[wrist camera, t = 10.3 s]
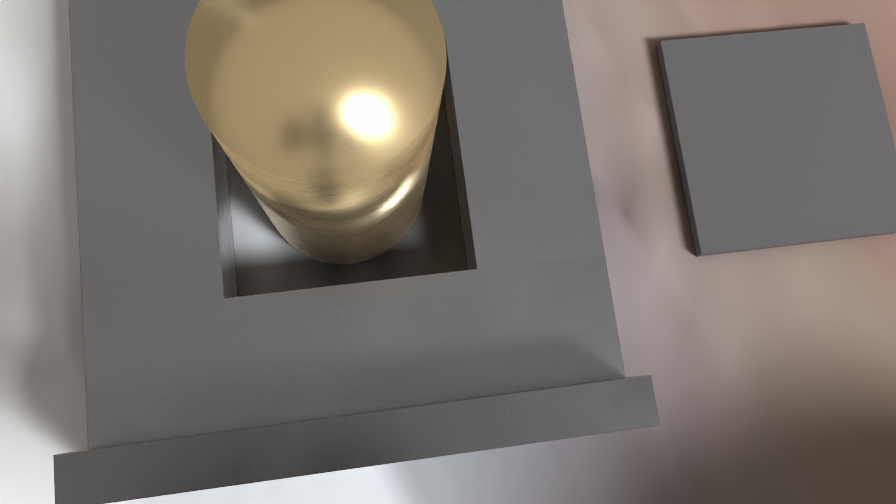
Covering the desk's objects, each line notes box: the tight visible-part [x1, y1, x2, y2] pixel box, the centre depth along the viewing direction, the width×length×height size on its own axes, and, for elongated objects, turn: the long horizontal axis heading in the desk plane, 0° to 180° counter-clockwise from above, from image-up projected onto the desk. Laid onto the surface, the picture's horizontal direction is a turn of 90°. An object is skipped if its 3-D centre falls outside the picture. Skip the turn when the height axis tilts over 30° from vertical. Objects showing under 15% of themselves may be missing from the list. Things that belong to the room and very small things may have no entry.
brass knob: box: [185, 0, 447, 264], centre depth 18 cm, size 5×5×9 cm
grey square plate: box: [656, 23, 896, 257], centre depth 24 cm, size 7×7×1 cm
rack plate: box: [53, 0, 660, 504], centre depth 21 cm, size 16×14×4 cm
